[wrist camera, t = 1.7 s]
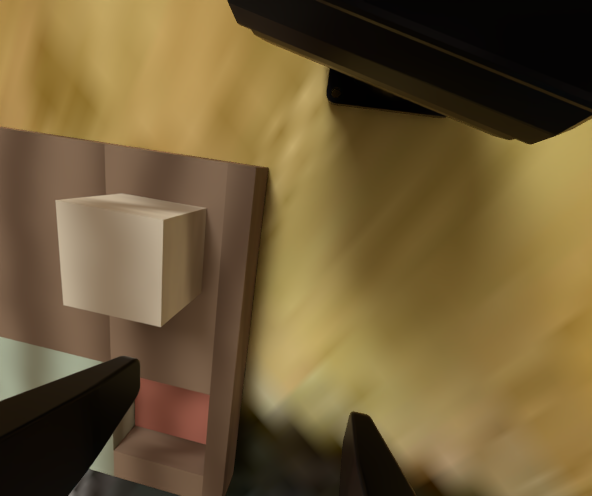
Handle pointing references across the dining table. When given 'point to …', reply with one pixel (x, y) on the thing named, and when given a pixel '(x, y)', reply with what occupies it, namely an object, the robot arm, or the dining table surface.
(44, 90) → the dining table surface
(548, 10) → the robot arm
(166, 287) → the block
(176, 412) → the board
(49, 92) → the dining table surface
